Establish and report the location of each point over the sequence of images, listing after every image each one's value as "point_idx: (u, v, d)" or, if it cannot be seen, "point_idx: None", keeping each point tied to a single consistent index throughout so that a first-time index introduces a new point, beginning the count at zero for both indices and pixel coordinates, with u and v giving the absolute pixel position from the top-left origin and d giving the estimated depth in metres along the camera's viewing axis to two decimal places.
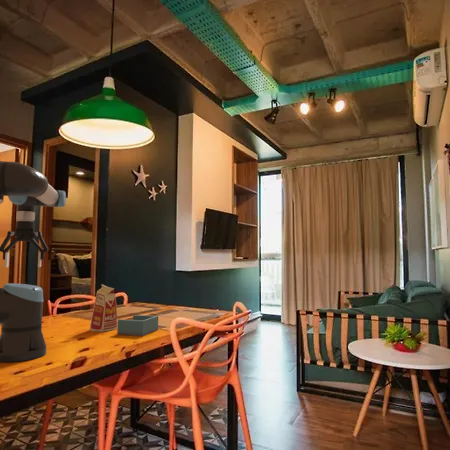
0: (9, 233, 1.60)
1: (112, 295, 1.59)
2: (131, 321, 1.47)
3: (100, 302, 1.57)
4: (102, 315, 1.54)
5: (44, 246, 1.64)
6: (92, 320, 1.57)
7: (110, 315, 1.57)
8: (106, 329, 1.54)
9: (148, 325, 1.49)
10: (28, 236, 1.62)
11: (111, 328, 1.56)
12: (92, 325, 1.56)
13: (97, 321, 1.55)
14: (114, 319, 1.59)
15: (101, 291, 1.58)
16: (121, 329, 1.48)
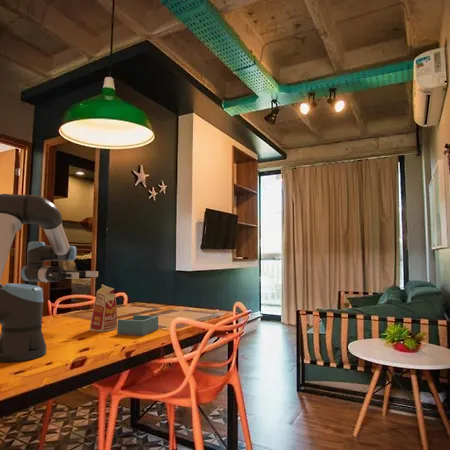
0: (51, 272, 1.62)
1: (112, 295, 1.59)
2: (131, 321, 1.47)
3: (100, 302, 1.57)
4: (102, 315, 1.54)
5: (83, 271, 1.74)
6: (92, 320, 1.57)
7: (110, 315, 1.57)
8: (106, 329, 1.54)
9: (148, 325, 1.49)
10: (66, 270, 1.69)
11: (111, 328, 1.56)
12: (92, 325, 1.56)
13: (97, 321, 1.55)
14: (114, 319, 1.59)
15: (101, 291, 1.58)
16: (121, 329, 1.48)
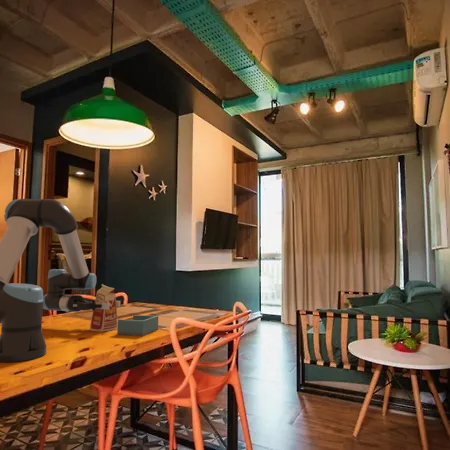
0: (75, 302, 1.57)
1: (112, 295, 1.59)
2: (131, 321, 1.47)
3: (100, 302, 1.57)
4: (102, 315, 1.54)
5: None
6: (92, 320, 1.57)
7: (110, 315, 1.57)
8: (106, 328, 1.54)
9: (148, 325, 1.49)
10: (88, 299, 1.64)
11: (111, 328, 1.56)
12: (92, 325, 1.56)
13: (97, 321, 1.55)
14: (114, 319, 1.59)
15: (101, 291, 1.58)
16: (121, 329, 1.48)
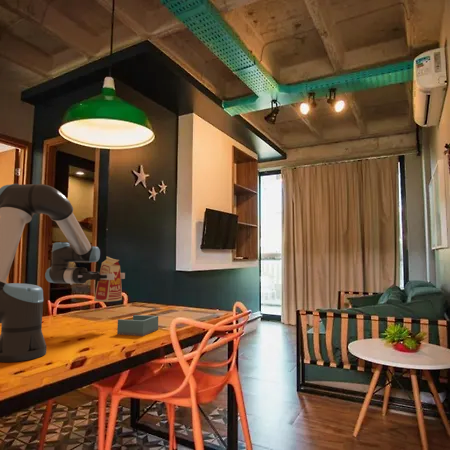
0: (80, 273, 1.58)
1: (117, 267, 1.61)
2: (131, 321, 1.47)
3: (105, 273, 1.58)
4: (107, 285, 1.56)
5: None
6: (97, 291, 1.58)
7: (115, 286, 1.58)
8: (111, 299, 1.56)
9: (148, 325, 1.49)
10: (92, 271, 1.65)
11: (116, 299, 1.58)
12: (97, 296, 1.57)
13: (102, 291, 1.56)
14: (119, 290, 1.60)
15: (106, 262, 1.60)
16: (121, 329, 1.48)
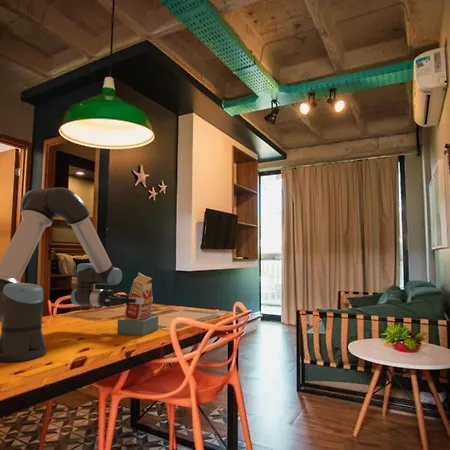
0: (108, 297, 1.52)
1: (149, 285, 1.54)
2: (131, 321, 1.47)
3: (137, 291, 1.52)
4: (139, 305, 1.50)
5: None
6: (127, 308, 1.52)
7: (146, 305, 1.53)
8: (141, 319, 1.50)
9: (148, 325, 1.49)
10: (119, 294, 1.59)
11: (146, 318, 1.52)
12: (127, 314, 1.52)
13: (133, 310, 1.51)
14: (149, 309, 1.55)
15: (138, 280, 1.53)
16: (121, 329, 1.48)
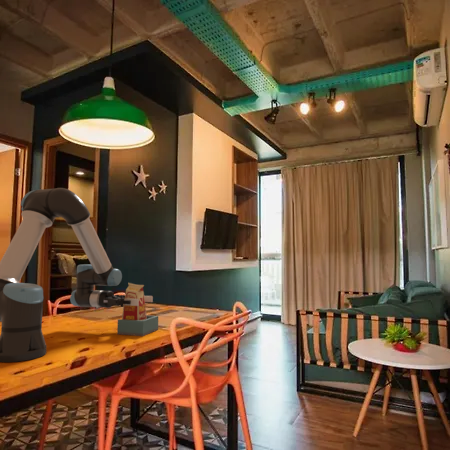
0: (106, 298, 1.52)
1: (141, 292, 1.56)
2: (131, 321, 1.47)
3: None
4: (136, 313, 1.50)
5: None
6: None
7: (143, 313, 1.53)
8: None
9: (148, 325, 1.49)
10: (119, 295, 1.60)
11: None
12: None
13: None
14: (145, 317, 1.55)
15: (130, 289, 1.53)
16: (121, 329, 1.48)
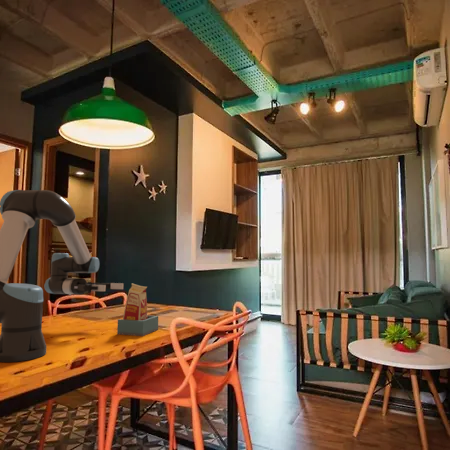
0: (77, 284, 1.58)
1: (144, 294, 1.55)
2: (131, 321, 1.47)
3: (134, 301, 1.51)
4: (138, 314, 1.49)
5: (108, 283, 1.70)
6: None
7: (144, 315, 1.53)
8: None
9: (148, 325, 1.49)
10: None
11: None
12: None
13: None
14: (146, 318, 1.55)
15: (133, 290, 1.53)
16: (121, 329, 1.48)
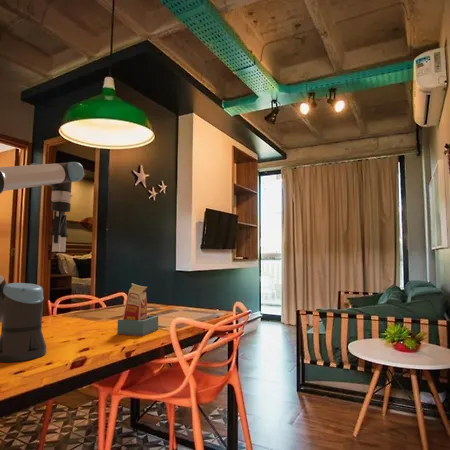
0: None
1: (144, 294, 1.55)
2: (131, 321, 1.47)
3: (134, 301, 1.51)
4: (138, 314, 1.49)
5: None
6: None
7: (144, 315, 1.53)
8: None
9: (148, 325, 1.49)
10: None
11: None
12: None
13: None
14: (146, 318, 1.55)
15: (133, 290, 1.53)
16: (121, 329, 1.48)
